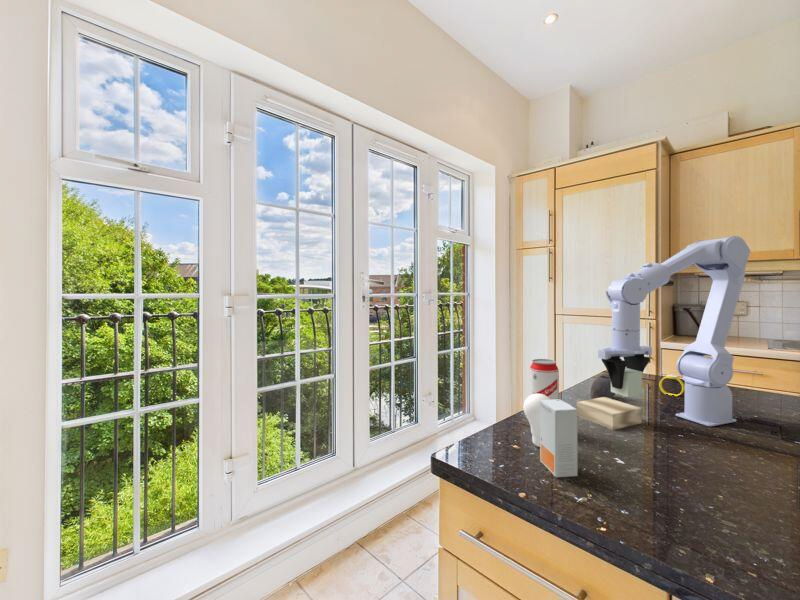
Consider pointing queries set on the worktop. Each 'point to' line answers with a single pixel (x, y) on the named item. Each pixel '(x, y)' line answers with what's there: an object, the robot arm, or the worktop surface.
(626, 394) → the sage block
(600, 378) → the perforated stone tool
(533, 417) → the lightbulb
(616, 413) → the maple block
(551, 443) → the skincare box
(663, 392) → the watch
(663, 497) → the worktop surface
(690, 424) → the worktop surface
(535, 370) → the beer can
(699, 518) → the worktop surface
